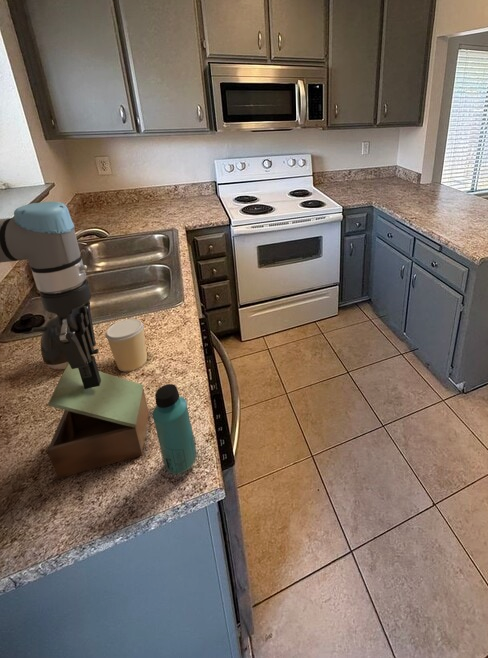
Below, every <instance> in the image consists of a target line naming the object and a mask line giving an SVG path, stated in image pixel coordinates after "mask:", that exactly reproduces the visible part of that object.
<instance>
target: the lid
mask: <svg viewBox="0 0 488 658" xmlns="http://www.w3.org/2000/svg"><path fill="white" fill-rule="evenodd" d="M98 371H99V375H100V378H101V383H100V386H97V387H92V388H88V389H84V386H83V382H82V379H81V376H80V372H79V369H78V368H75V369H72V368H71V366H70V364H69V363H68V364H67V366H66V368H65V369H63V372H62V374H61V376H60V378H59V380H58V383H57V384H56V387H55V389H54V390H53V393H52V394H51V396H50V399H49V401H48V403H47V405H46V406H48V407H52V408H55V409H60V410H64V411H65V410H67V411H71V412H75V413H79V414H82V415H86V416H90V417H94V418H98V419H102V420H106V421H110V422H114V423H118V424H122V425H126V426H130V427H133V428H134V427H135V425H136V422H137V417H138V412H139V406H140V401H141V396H142V391H143V389H144V384H142V383H139V382H136V381H133V380H129V379H125V378H123V377H120V376H116V375H113V374H111V373H107V372H104V371H100V370H98Z"/></svg>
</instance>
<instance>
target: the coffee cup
mask: <svg viewBox="0 0 488 658" xmlns="http://www.w3.org/2000/svg"><path fill="white" fill-rule="evenodd" d="M105 339H106V340H107V342H108V346H109V348H110V350H111V353H112V356H113V359H114V362H115V365H116V367H117V369H118V370H119V371H121V372H131V371H135V370H137V369H139V368H141V367H142V366H144V365H145V363H147V359H148V355H147V354H148V353H147V345H146V337H145V331H144V323H143V322H142V321H141V320H140V319H138V318H125V319H122V320H119V321H117V322H115V323H113V324H111V325H110V326H109V327H108V328H107V330H106V333H105Z"/></svg>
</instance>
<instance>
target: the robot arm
mask: <svg viewBox="0 0 488 658" xmlns="http://www.w3.org/2000/svg"><path fill="white" fill-rule="evenodd" d="M75 228H76V227H75V224H74V222H73V220H72V217H71V214H70V211H69V208H68V206H67V205H66V204H64V203H63V202H60V201H54V200H53V201H40V202H34V203H33V202H32V203H28V204H24V205H21V206H19V207H17V208H15V209H14V211H13V217H10V218H0V264H1V263H9V262H10V263H11V262H19V261H20V262H21V261H27V262H28V264H29V266H30V269H31V272H32V276H33V279H34V283H35V286H36V289H37V291H39V298H40V301H41V303H42V307H43V309H44V310H45V311H46V312H48V313H52V314H54V315H56V317H57V323H58V326H60V327H61V333H60V334H57V335H55V341H56V342H57V343H58V344H59V345H60V347H61V349H62V351H63V353H64V354H65V356H66V358H67V360H68V362H69V364H70V366H71V368H72V369H75V368H78V369H79V372H80V376H81V379H82V382H83V386H84V389H88V388H92V387H97V386H100V383H101V378H100V375H99V371H100V370H99V368H98V364H97V360H96V356H95V355H97V354H99V348H95V347H96V346H97V342H96V336H95V331H94V324H93V319H92V312H91V302H90V301H91V298H92V291H91V287H90V284H89V283H90V282H89V280H88V279H87V273H86V270H88V265H86V264H84V263H83V258H82V254H81V251H80V247H79V242H78V238H77V234H76V230H75Z"/></svg>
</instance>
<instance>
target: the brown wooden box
mask: <svg viewBox="0 0 488 658" xmlns="http://www.w3.org/2000/svg"><path fill="white" fill-rule="evenodd" d="M149 414H150V412H149V407H148V403H147V397H146V395H145V390H144V388H143V391H142V396H141V401H140V406H139V412H138V417H137V422H136V425H135V427H134V428H133V427H130V426H126V425H122V424H118V423H114V422H110V421H106V420H102V419H98V418H94V417H90V416H86V415H82V414H79V413H75V412H71V411H67V410H64V411H63V414H62V415H61V419H60V421H59V422H58V425H57V426H56V429H55V433H54V434H53V437H52V438H51V441H50V444H49V446H48V448H47V450H46V451H47V454H48V457H49V459H50V463H51V465H52V468H53V470H54V473H55V475H56V478H57V479H62V478H65V477H69V476H72V475H73V476H74V475H76V474H79V473H80V474H81V473H84V472H87V471H90V470H94V469H98V468H101V467H104V466H108V465H112V464H115V463H119V462H122V461H126V460H129V459H133V458H136V457H140V456H143V455H144V454H143V452H144V446H145V440H146V433H147V428H148V422H149V421H148V420H149V416H150V415H149Z"/></svg>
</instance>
